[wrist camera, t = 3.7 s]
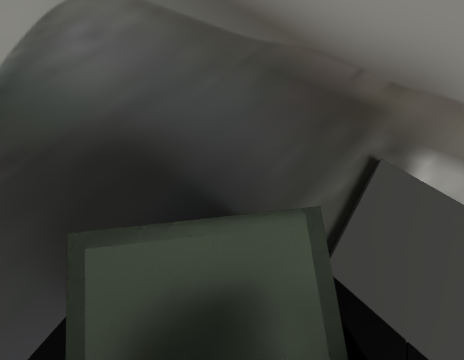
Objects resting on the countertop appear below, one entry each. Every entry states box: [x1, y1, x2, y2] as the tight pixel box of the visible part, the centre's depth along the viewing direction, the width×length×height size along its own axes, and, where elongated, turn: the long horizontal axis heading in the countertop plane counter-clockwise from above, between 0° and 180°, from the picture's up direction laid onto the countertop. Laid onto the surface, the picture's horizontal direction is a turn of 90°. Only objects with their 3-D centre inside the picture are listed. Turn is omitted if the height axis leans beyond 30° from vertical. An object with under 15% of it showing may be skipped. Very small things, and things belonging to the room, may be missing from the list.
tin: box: [66, 206, 348, 360], centre depth 12 cm, size 6×6×10 cm
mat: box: [329, 159, 464, 360], centre depth 17 cm, size 12×9×1 cm
